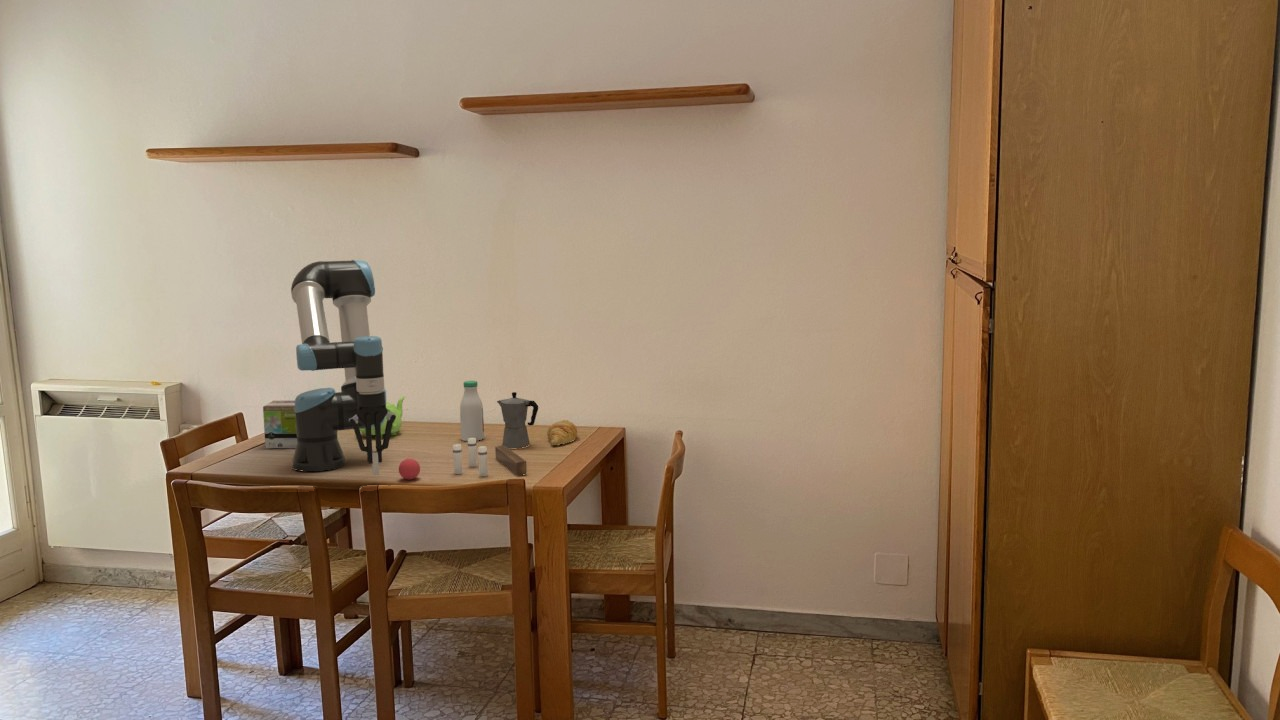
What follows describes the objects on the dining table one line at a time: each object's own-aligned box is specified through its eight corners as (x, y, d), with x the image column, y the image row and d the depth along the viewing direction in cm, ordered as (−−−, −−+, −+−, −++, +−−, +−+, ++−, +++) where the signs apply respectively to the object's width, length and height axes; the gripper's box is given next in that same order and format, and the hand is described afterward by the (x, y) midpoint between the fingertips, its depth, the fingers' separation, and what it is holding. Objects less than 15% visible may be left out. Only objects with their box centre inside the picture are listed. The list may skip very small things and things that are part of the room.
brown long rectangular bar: (516, 476, 269) (516, 462, 269) (495, 459, 289) (495, 446, 289) (526, 474, 271) (526, 461, 270) (505, 458, 290) (504, 445, 290)
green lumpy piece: (368, 430, 334) (365, 395, 332) (407, 429, 333) (405, 394, 332) (354, 440, 318) (351, 404, 316) (395, 439, 317) (393, 403, 316)
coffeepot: (491, 447, 305) (489, 393, 302) (506, 441, 313) (504, 388, 310) (531, 451, 298) (530, 396, 296) (546, 445, 307) (544, 391, 304)
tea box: (264, 449, 306) (261, 405, 304) (275, 442, 316) (272, 399, 314) (311, 448, 307) (308, 404, 305) (320, 441, 317) (317, 399, 315)
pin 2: (480, 477, 269) (479, 448, 268) (477, 475, 271) (476, 446, 270) (489, 476, 270) (487, 447, 269) (486, 473, 272) (485, 445, 271)
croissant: (562, 458, 303) (573, 437, 301) (535, 443, 304) (546, 423, 302) (577, 442, 324) (587, 422, 322) (552, 428, 325) (562, 408, 323)
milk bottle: (481, 441, 313) (479, 383, 310) (459, 442, 313) (456, 383, 310) (486, 436, 320) (483, 379, 317) (463, 437, 320) (461, 379, 317)
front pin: (454, 474, 272) (453, 446, 270) (452, 472, 274) (451, 444, 273) (463, 473, 273) (462, 445, 272) (461, 471, 275) (460, 443, 274)
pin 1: (469, 467, 280) (468, 440, 278) (467, 465, 282) (466, 438, 281) (478, 466, 281) (477, 439, 279) (476, 464, 283) (474, 437, 282)
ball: (401, 483, 264) (400, 462, 263) (397, 478, 269) (396, 457, 268) (422, 480, 266) (421, 460, 265) (418, 475, 272) (417, 455, 271)
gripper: (348, 396, 254) (353, 480, 257) (396, 391, 259) (401, 474, 262) (344, 392, 261) (349, 474, 264) (392, 388, 266) (396, 468, 269)
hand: (375, 474), depth 263 cm, fingers closed
